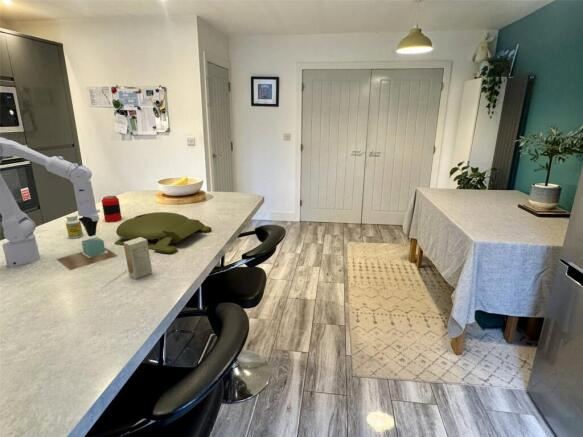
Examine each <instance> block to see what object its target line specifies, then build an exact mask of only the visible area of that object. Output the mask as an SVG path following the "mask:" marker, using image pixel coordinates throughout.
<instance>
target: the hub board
mask: <svg viewBox="0 0 583 437" xmlns="http://www.w3.org/2000/svg"><path fill="white" fill-rule="evenodd" d="M116 257H119V255H118V254H116V253H114V252H113V251H111V250H109V248H107V247H105V253H101V254H98V255H94V256H91V257H89V256H88V255H86V254H85V253H84V251H81V252H77V253H73V254H70V255H66V256H62V257H60V258H56V260H57V261H58V262H59V263H61V265H63V266H64V267H65V268H67V269H68V270H69V271H72V270H73V271H74V270H75V269H79V268H83V267H85V266H89V265H92V264H95V263H100V262H102V261H107V260H110V259H112V258H116Z"/></svg>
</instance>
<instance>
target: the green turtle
mask: <svg viewBox="0 0 583 437" xmlns="http://www.w3.org/2000/svg"><path fill="white" fill-rule="evenodd" d="M211 231H212V227H211V226H207V225H205V224H204V223H203V222H201V221H200V220H199V219H194V218H193V219H192V218H188V217H187V216H185V215H184V214H180V213H175V212H166V211H165V212H161V211H159V212H148V213H144V214H139V215H136V216H134V217H132V218H128V219H126V220H124V221H123V222H121V223H120V224H119V225H118V226H117V227H116V230H115V232H116V235H117V236H118V237H120V239H117V240H116V241H115V242H114V245H116V246H123V247H124V243H123V242H126V241H129V240H132V239H136V238H139V237H142V238H144V239H147V241H148V240H156V239H157V242H156V243H155V242H154V243H151V242H148V249H149V251H153V252H154V253H159V254H161V253H162V254H166V255H167V254H168V255H171V254H175V253H176V252H177V251H178V247H176V246H174V245H170V244H177V243H179V242H180V241H182V240H184V239H186V238H188V237H189V236H191V235H192V234H194V233H197V232H198V233H203V234H204V233H205V234H207V233H209V232H211ZM121 238H122V239H121Z"/></svg>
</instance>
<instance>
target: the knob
mask: <svg viewBox="0 0 583 437" xmlns="http://www.w3.org/2000/svg"><path fill="white" fill-rule="evenodd" d="M81 245H82V252H84V253H85V254H86V255H88V256H89V257H91V256H94V255H98V254H101V253H105V248H106V247H105V241H104V240H103V239H101V238H100V237H98V236H97V237H93V238H88V239H84V240H81Z"/></svg>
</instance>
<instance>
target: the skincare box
mask: <svg viewBox="0 0 583 437" xmlns="http://www.w3.org/2000/svg"><path fill="white" fill-rule="evenodd" d="M128 240H129V241H126V242H123V243H124V246H123V248H124V253H125V254H124V255H125V259H126V260H125V261H126V264H127V271H128V276H129V277H131V278H133V279H134V280H137V279H140V278H142V277H144V276H147V275H149V274H152V273H153V269H152V263H151V257H150V256H151V255H150V249H148V243H149V242H148V240H147V239H144V238H142V237H139V238H136V239H128Z"/></svg>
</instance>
